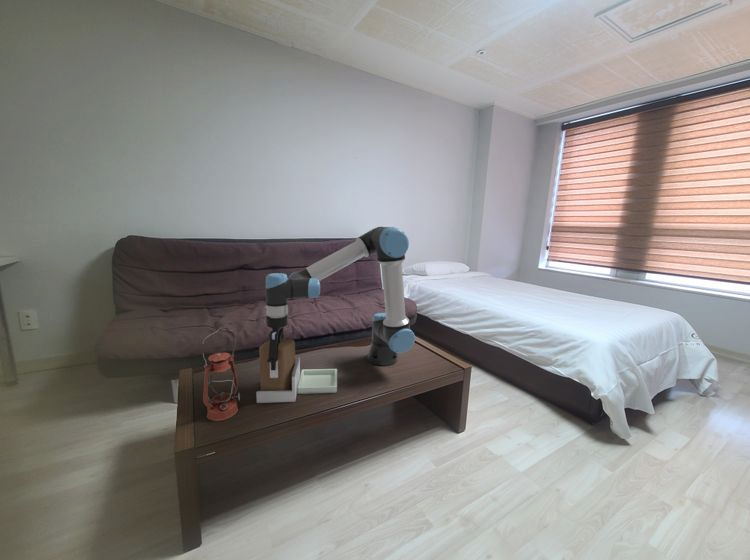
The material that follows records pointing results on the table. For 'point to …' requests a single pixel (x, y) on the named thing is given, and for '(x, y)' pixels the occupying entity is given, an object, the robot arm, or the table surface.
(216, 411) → the lantern
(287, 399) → the dock
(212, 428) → the table surface
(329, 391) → the tray
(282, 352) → the wooden block
